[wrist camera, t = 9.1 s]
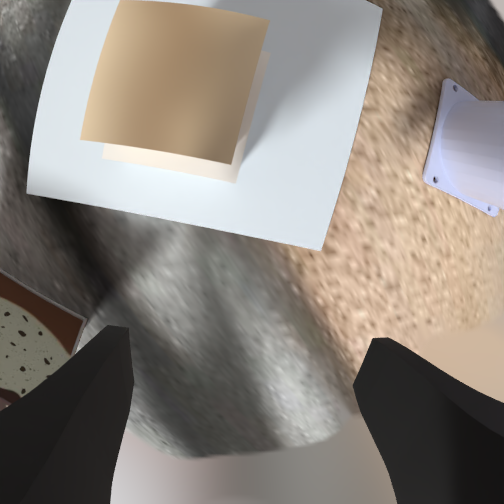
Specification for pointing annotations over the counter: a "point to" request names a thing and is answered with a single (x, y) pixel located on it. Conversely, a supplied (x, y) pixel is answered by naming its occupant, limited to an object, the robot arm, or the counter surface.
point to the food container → (32, 338)
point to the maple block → (174, 79)
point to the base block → (192, 163)
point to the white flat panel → (260, 134)
